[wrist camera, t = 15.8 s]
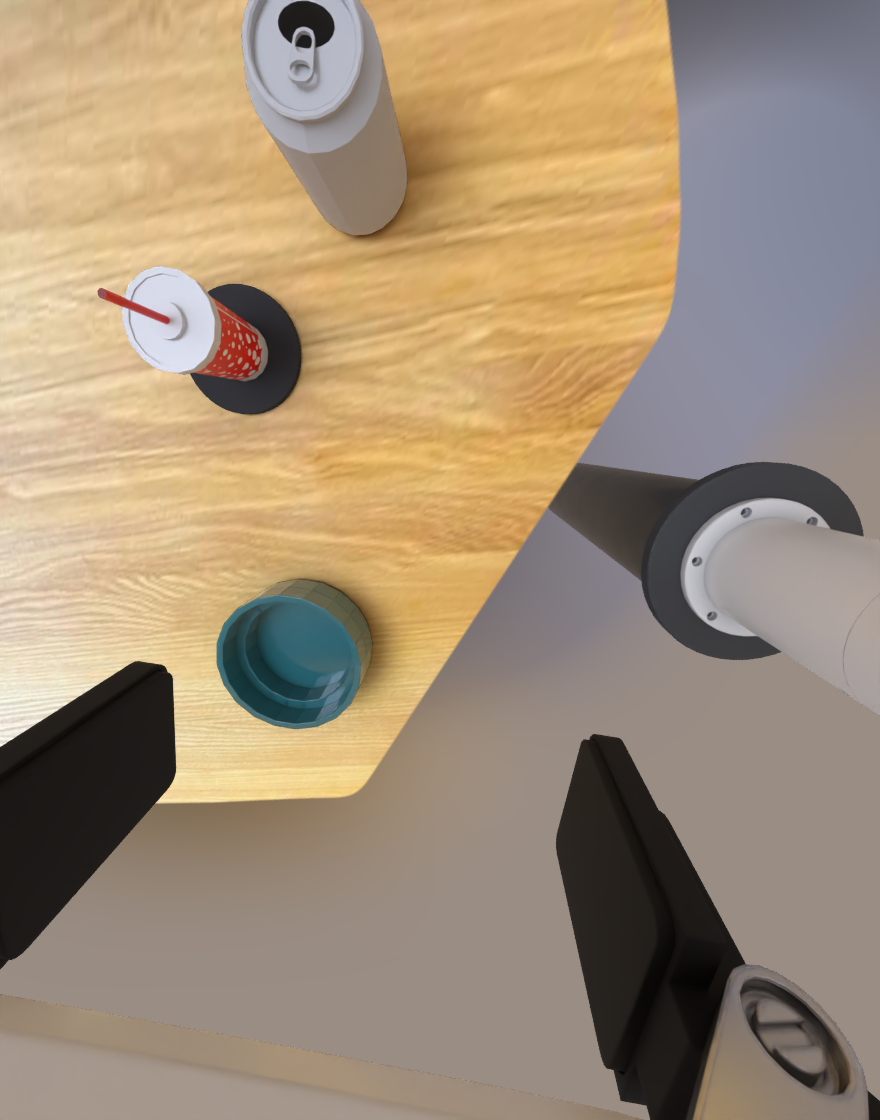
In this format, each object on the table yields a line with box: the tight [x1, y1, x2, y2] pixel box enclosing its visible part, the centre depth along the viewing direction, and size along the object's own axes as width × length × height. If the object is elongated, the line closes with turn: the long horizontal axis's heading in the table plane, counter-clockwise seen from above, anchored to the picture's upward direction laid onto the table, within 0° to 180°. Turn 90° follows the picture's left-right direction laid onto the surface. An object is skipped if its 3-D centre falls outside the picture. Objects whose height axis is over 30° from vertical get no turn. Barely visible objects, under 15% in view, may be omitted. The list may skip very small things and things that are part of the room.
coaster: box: [190, 284, 301, 414], centre depth 36 cm, size 10×10×1 cm
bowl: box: [217, 579, 372, 729], centre depth 40 cm, size 13×13×5 cm
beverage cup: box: [98, 266, 268, 381], centre depth 29 cm, size 6×6×14 cm
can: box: [241, 0, 407, 235], centre depth 27 cm, size 8×8×12 cm
